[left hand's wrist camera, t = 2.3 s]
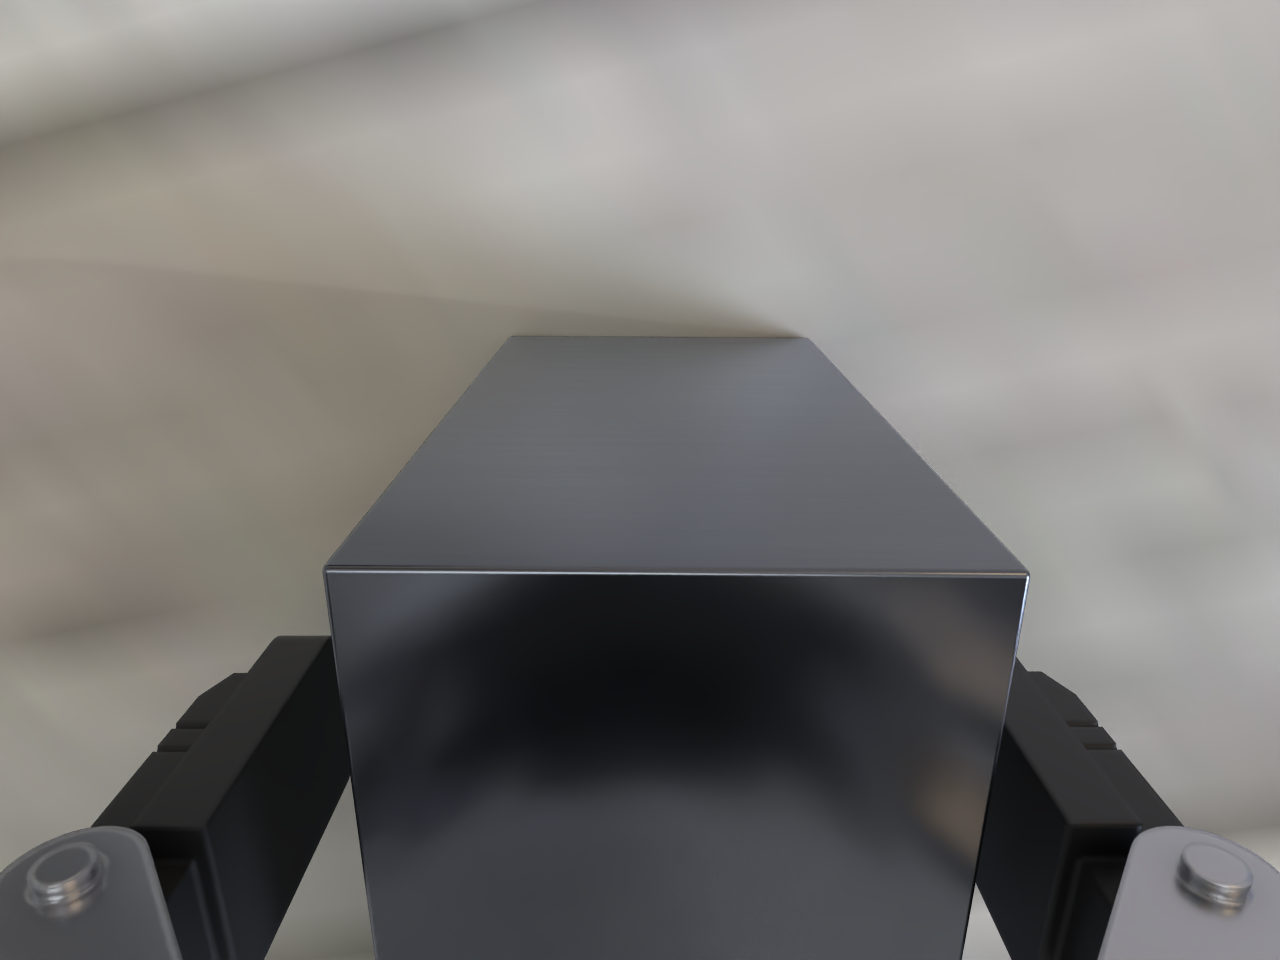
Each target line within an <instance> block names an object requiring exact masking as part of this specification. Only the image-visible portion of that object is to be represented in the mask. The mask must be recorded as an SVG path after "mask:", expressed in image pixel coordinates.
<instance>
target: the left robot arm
mask: <svg viewBox="0 0 1280 960" xmlns="http://www.w3.org/2000/svg"><path fill="white" fill-rule="evenodd" d="M349 777H350V769H349V761H348V754H347V746H346V739H345V732H344V724H343V717H342V710H341V702H340V695H339V688H338V680H337V673H336V665H335V658H334V651H333V643H332V636H278V637H276V638H275V639H274V640H273V641H272V642H271V643H270V644H269V646H268V647H267V648H266V650H265V651H264V652H263V654H262V655H261V656H260V657H259V659H258V660H257V661H256V663H255V664H254V665H253V667H252V668H251V669H250V670H249V672H248V673H233V674H232V675H230V676H229V677H227V678H226V679H224V680H223V681H221V682H220V683H218V684H217V685H215V686H214V687H212V688H211V689H209V690H208V691H206V692H205V693H203V694H202V695H200V696H199V697H198V698H197V699H196V700H195V702H194V703H193V704H192V705H191V706H190V708H189V709H188V710H187V711H186V712H185V714H184V715H183V716H182V717H181V718H180V720H179V721H178V722H177V723H176V729H171V731H170V732H169V733H168V734H167V735H166V737H165V738H164V739H163V740H162V741H161V743H160V744H159V745H158V750H157V752H152V753H151V755H150V756H149V757H148V758H147V760H146V761H145V762H144V763H143V764H142V766H141V767H140V768H139V769H138V770H137V772H136V773H135V774H134V775H133V776H132V778H131V779H130V780H129V781H128V782H127V784H126V785H125V786H124V787H123V789H122V790H121V791H120V792H119V793H118V795H117V796H116V797H115V798H114V799H113V801H112V802H111V803H110V804H109V805H108V807H107V808H106V809H105V810H104V812H103V813H102V814H101V815H100V816H99V818H98V819H97V820H96V821H95V822H94V824H93V825H92V826H91V827H90V828H86V829H81V830H77V831H73V832H70V833H67V834H64V835H61V836H59V837H56V838H54V839H52V840H49V841H47V842H45V843H43V844H41V845H39V846H37V847H35V848H33V849H32V850H30V851H28V852H27V853H25V854H24V855H22V856H20V857H19V858H18V859H16V860H15V861H14V862H12V863H11V864H10V865H8V866H7V867H6V868H5V869H4V870H3V871H2V872H1V873H0V960H264V958H265V956H266V954H267V952H268V950H269V948H270V945H271V943H272V941H273V939H274V937H275V935H276V933H277V931H278V928H279V926H280V924H281V922H282V920H283V918H284V916H285V914H286V912H287V909H288V907H289V905H290V903H291V901H292V899H293V897H294V895H295V892H296V890H297V888H298V886H299V884H300V882H301V880H302V878H303V876H304V873H305V871H306V869H307V867H308V865H309V863H310V861H311V859H312V856H313V854H314V852H315V850H316V848H317V846H318V844H319V842H320V840H321V837H322V835H323V833H324V831H325V829H326V827H327V825H328V823H329V820H330V818H331V816H332V814H333V812H334V810H335V808H336V806H337V804H338V801H339V799H340V797H341V795H342V793H343V791H344V789H345V787H346V784H347V782H348V780H349ZM976 884H977V886H978V889H979V891H980V893H981V895H982V897H983V899H984V901H985V904H986V906H987V908H988V910H989V912H990V914H991V916H992V919H993V921H994V923H995V925H996V927H997V929H998V931H999V934H1000V936H1001V938H1002V940H1003V942H1004V944H1005V946H1006V949H1007V951H1008V953H1009V955H1010V957H1011V959H1012V960H1280V873H1279V872H1278V871H1277V870H1276V869H1275V868H1274V867H1273V866H1272V865H1270V864H1269V863H1268V862H1266V861H1265V860H1264V859H1262V858H1261V857H1260V856H1258V855H1256V854H1255V853H1253V852H1252V851H1250V850H1248V849H1247V848H1245V847H1243V846H1241V845H1239V844H1237V843H1235V842H1233V841H1231V840H1228V839H1226V838H1224V837H1221V836H1219V835H1216V834H1213V833H1210V832H1207V831H1203V830H1199V829H1194V828H1189V827H1184V826H1183V825H1182V823H1181V822H1180V821H1179V820H1178V819H1177V817H1176V816H1175V815H1174V814H1173V813H1172V811H1171V810H1170V809H1169V808H1168V806H1167V805H1166V804H1165V803H1164V802H1163V800H1162V799H1161V798H1160V797H1159V795H1158V794H1157V793H1156V792H1155V791H1154V789H1153V788H1152V787H1151V786H1150V784H1149V783H1148V782H1147V781H1146V780H1145V778H1144V777H1143V776H1142V775H1141V773H1140V772H1139V771H1138V770H1137V769H1136V767H1135V766H1134V765H1133V764H1132V763H1131V761H1130V760H1129V759H1128V758H1127V756H1126V755H1125V754H1124V753H1123V752H1122V750H1117V748H1116V743H1115V742H1114V741H1113V739H1112V738H1111V737H1110V736H1109V734H1108V733H1107V732H1106V731H1105V730H1104V728H1103V727H1098V721H1097V720H1096V719H1095V717H1094V716H1093V715H1092V714H1091V712H1090V711H1089V710H1088V709H1087V708H1086V706H1085V705H1084V704H1083V703H1082V702H1081V700H1080V699H1079V698H1078V697H1077V695H1076V694H1074V693H1073V692H1071V691H1070V690H1068V689H1067V688H1065V687H1064V686H1062V685H1061V684H1059V683H1058V682H1056V681H1055V680H1053V679H1052V678H1050V677H1049V676H1047V675H1046V674H1044V673H1043V672H1027V670H1026V669H1025V668H1024V667H1023V665H1022V664H1021V663H1020V661H1019V660H1018V659H1017V657H1016V659H1015V665H1014V670H1013V676H1012V682H1011V687H1010V693H1009V698H1008V704H1007V709H1006V715H1005V721H1004V726H1003V732H1002V737H1001V743H1000V748H999V754H998V760H997V765H996V771H995V776H994V782H993V788H992V793H991V799H990V804H989V810H988V815H987V821H986V827H985V832H984V838H983V843H982V849H981V855H980V860H979V866H978V871H977V877H976Z"/></svg>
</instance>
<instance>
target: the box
mask: <svg viewBox="0 0 1280 960" xmlns="http://www.w3.org/2000/svg"><path fill="white" fill-rule="evenodd" d="M323 577H324V585H325V592H326V599H327V607H328V614H329V621H330V629H331V636H332V643H333V651H334V658H335V665H336V673H337V680H338V688H339V695H340V702H341V710H342V717H343V724H344V732H345V739H346V746H347V754H348V761H349V769H350V776H351V783H352V791H353V798H354V805H355V813H356V820H357V827H358V835H359V842H360V850H361V857H362V864H363V872H364V879H365V886H366V894H367V901H368V908H369V916H370V923H371V931H372V938H373V945H374V953H375V960H962V955H963V949H964V944H965V938H966V933H967V927H968V922H969V916H970V910H971V905H972V899H973V894H974V888H975V882H976V877H977V871H978V866H979V860H980V855H981V849H982V843H983V838H984V832H985V827H986V821H987V815H988V810H989V804H990V799H991V793H992V788H993V782H994V776H995V771H996V765H997V760H998V754H999V748H1000V743H1001V737H1002V732H1003V726H1004V721H1005V715H1006V709H1007V704H1008V698H1009V693H1010V687H1011V682H1012V676H1013V670H1014V665H1015V659H1016V654H1017V648H1018V642H1019V637H1020V631H1021V626H1022V620H1023V615H1024V609H1025V603H1026V598H1027V592H1028V587H1029V581H1030V574H1029V571H1028V570H1027V569H1026V568H1025V567H1024V566H1023V565H1022V564H1021V563H1020V561H1019V560H1018V559H1017V558H1016V557H1015V556H1014V555H1013V554H1012V553H1011V552H1010V551H1009V550H1008V549H1007V548H1006V547H1005V546H1004V545H1003V543H1002V542H1001V541H1000V540H999V539H998V538H997V537H996V536H995V535H994V534H993V533H992V532H991V531H990V530H989V529H988V528H987V527H986V525H985V524H984V523H983V522H982V521H981V520H980V519H979V518H978V517H977V516H976V515H975V514H974V513H973V512H972V511H971V510H970V509H969V507H968V506H967V505H966V504H965V503H964V502H963V501H962V500H961V499H960V498H959V497H958V496H957V495H956V494H955V493H954V492H953V491H952V489H951V488H950V487H949V486H948V485H947V484H946V483H945V482H944V481H943V480H942V479H941V478H940V477H939V476H938V475H937V474H936V473H935V472H934V470H933V469H932V468H931V467H930V466H929V465H928V464H927V463H926V462H925V461H924V460H923V459H922V458H921V457H920V456H919V455H918V454H917V452H916V451H915V450H914V449H913V448H912V447H911V446H910V445H909V444H908V443H907V442H906V441H905V440H904V439H903V438H902V437H901V436H900V434H899V433H898V432H897V431H896V430H895V429H894V428H893V427H892V426H891V425H890V424H889V423H888V422H887V421H886V420H885V419H884V418H883V416H882V415H881V414H880V413H879V412H878V411H877V410H876V409H875V408H874V407H873V406H872V405H871V404H870V403H869V402H868V401H867V400H866V399H865V397H864V396H863V395H862V394H861V393H860V392H859V391H858V390H857V389H856V388H855V387H854V386H853V385H852V384H851V383H850V382H849V381H848V379H847V378H846V377H845V376H844V375H843V374H842V373H841V372H840V371H839V370H838V369H837V368H836V367H835V366H834V365H833V364H832V363H831V361H830V360H829V359H828V358H827V357H826V356H825V355H824V354H823V353H822V352H821V351H820V350H819V349H818V348H817V347H816V346H815V345H814V343H813V342H812V341H811V340H810V339H808V338H709V337H545V336H511V337H509V338H508V339H507V341H506V342H505V343H504V344H503V346H502V347H501V348H500V349H499V350H498V352H497V353H496V354H495V355H494V357H493V358H492V359H491V360H490V362H489V363H488V364H487V365H486V367H485V368H484V369H483V370H482V371H481V373H480V374H479V375H478V376H477V378H476V379H475V380H474V381H473V383H472V384H471V385H470V386H469V388H468V389H467V390H466V391H465V392H464V394H463V395H462V396H461V397H460V399H459V400H458V401H457V402H456V404H455V405H454V406H453V407H452V409H451V410H450V411H449V412H448V413H447V415H446V416H445V417H444V418H443V420H442V421H441V422H440V423H439V425H438V426H437V427H436V428H435V429H434V431H433V432H432V433H431V434H430V436H429V437H428V438H427V439H426V441H425V442H424V443H423V444H422V446H421V447H420V448H419V449H418V450H417V452H416V453H415V454H414V455H413V457H412V458H411V459H410V460H409V462H408V463H407V464H406V465H405V467H404V468H403V469H402V470H401V471H400V473H399V474H398V475H397V476H396V478H395V479H394V480H393V481H392V483H391V484H390V485H389V486H388V488H387V489H386V490H385V491H384V492H383V494H382V495H381V496H380V497H379V499H378V500H377V501H376V502H375V504H374V505H373V506H372V507H371V509H370V510H369V511H368V512H367V513H366V515H365V516H364V517H363V518H362V520H361V521H360V522H359V523H358V525H357V526H356V527H355V528H354V529H353V531H352V532H351V533H350V534H349V536H348V537H347V538H346V539H345V541H344V542H343V543H342V544H341V546H340V547H339V548H338V549H337V550H336V552H335V553H334V554H333V555H332V557H331V558H330V559H329V560H328V562H327V563H326V564H325V565H324V568H323Z"/></svg>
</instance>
